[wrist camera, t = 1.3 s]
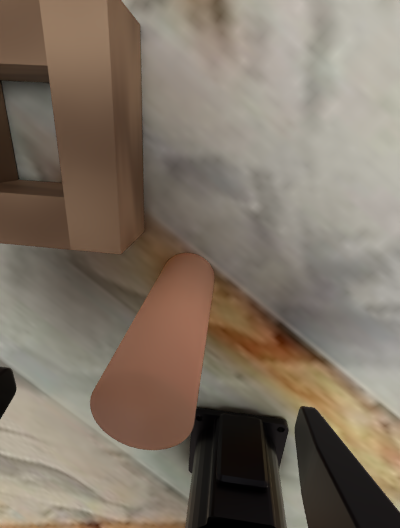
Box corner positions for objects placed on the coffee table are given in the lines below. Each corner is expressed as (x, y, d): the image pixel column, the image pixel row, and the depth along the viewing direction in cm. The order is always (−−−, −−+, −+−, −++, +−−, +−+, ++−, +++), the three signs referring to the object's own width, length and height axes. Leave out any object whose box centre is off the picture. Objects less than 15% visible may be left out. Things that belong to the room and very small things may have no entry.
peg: (212, 303, 17) (191, 456, 9) (162, 298, 17) (95, 442, 9) (216, 255, 16) (197, 379, 7) (162, 250, 16) (85, 365, 8)
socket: (144, 231, 16) (120, 254, 12) (-12, 218, 16) (-72, 236, 13) (140, 24, 12) (105, -19, 9) (-59, 18, 13) (-157, -23, 10)
